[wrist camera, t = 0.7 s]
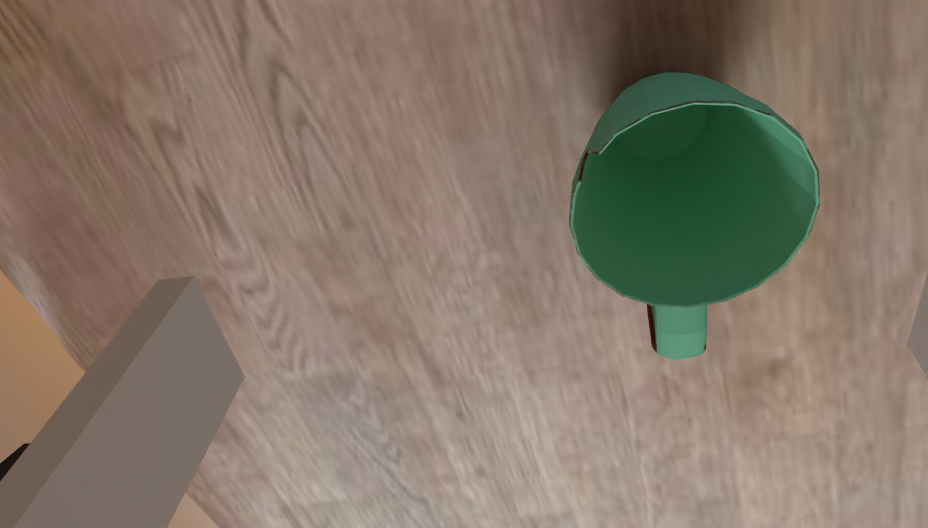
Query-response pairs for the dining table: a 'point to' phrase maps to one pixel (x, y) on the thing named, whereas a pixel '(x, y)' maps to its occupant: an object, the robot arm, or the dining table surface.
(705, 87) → the mug
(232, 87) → the dining table surface
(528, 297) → the dining table surface
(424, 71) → the dining table surface
